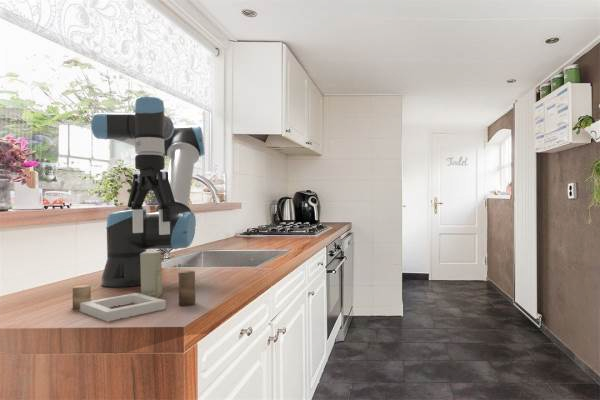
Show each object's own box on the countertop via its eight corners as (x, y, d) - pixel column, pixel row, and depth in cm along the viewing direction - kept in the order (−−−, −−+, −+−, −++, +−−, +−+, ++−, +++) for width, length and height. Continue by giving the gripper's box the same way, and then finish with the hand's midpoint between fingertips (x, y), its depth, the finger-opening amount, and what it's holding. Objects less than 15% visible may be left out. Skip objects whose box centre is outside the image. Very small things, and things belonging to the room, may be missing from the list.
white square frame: (80, 311, 102) (80, 302, 102) (136, 300, 113) (136, 292, 113) (107, 321, 93) (107, 312, 93) (165, 308, 104) (165, 300, 104)
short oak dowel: (69, 307, 106) (69, 287, 106) (86, 304, 109) (86, 284, 109) (76, 310, 104) (76, 289, 104) (93, 306, 107) (93, 286, 107)
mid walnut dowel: (175, 304, 108) (175, 272, 108) (189, 301, 111) (188, 270, 111) (184, 306, 105) (184, 273, 105) (198, 303, 108) (198, 271, 108)
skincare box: (157, 299, 114) (157, 252, 114) (140, 299, 114) (139, 253, 114) (162, 294, 121) (162, 250, 121) (146, 294, 120) (145, 250, 120)
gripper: (114, 157, 123) (115, 232, 123) (162, 149, 106) (163, 236, 106) (139, 159, 128) (140, 231, 128) (188, 152, 112) (189, 234, 112)
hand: (150, 233), depth 117 cm, fingers open, 13 cm apart
